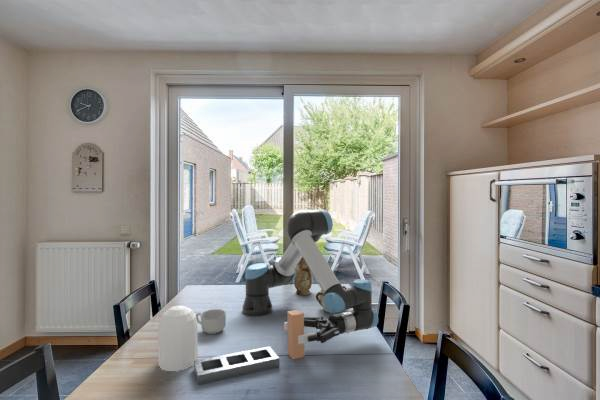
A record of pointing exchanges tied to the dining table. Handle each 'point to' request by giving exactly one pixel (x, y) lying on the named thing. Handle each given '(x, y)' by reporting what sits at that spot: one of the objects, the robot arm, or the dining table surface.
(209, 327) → the teacup
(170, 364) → the container
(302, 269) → the vase
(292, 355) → the post
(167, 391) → the dining table surface
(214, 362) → the rail
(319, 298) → the sugar bowl
